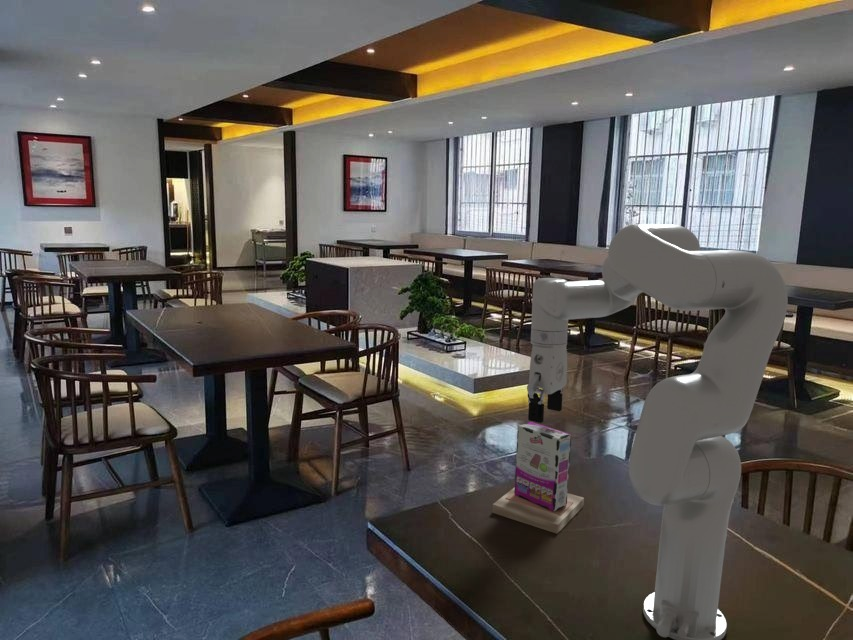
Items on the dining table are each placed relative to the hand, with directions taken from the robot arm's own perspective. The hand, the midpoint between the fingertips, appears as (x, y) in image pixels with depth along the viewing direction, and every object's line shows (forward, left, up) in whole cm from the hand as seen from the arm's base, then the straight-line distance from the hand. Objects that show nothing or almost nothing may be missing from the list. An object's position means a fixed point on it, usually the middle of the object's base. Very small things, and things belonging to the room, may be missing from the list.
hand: (545, 415), depth 135 cm
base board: (0, 0, -22) cm, 22 cm away
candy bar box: (0, 0, -20) cm, 20 cm away
